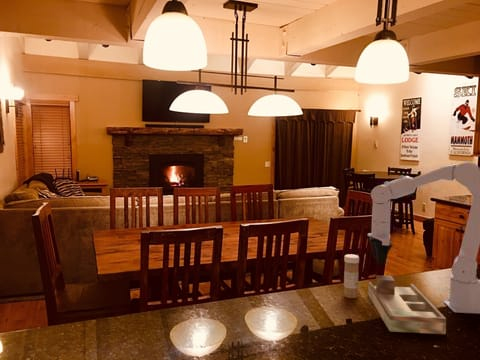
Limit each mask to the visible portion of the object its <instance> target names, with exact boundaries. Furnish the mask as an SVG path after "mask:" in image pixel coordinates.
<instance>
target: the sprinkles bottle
mask: <svg viewBox="0 0 480 360" xmlns="http://www.w3.org/2000/svg"><path fill="white" fill-rule="evenodd" d="M343 258H344V259H343V260H344V274H343V275H344V276H343V286H344V287H343V296H344V297H345V298H347V299H356V298H358V297H359V292H358V288H359V263H360V257H359V255H357V254H354V253H353V254H352V253H351V254H348V253H347V254H345V255H344V257H343Z"/></svg>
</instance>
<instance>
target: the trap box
mask: <svg viewBox="0 0 480 360" xmlns="http://www.w3.org/2000/svg"><path fill="white" fill-rule="evenodd" d="M409 286H410V287H406V286H395V295H387V294H379V293H378V291H377V290H376V285H374V284H373V283H372V282H371V281H368V293H367V295H368V297H369V298H370V300H371V302H372V304H373V305H374V307H375V309H376V311H377V312H378V314H379V315H380V317H381V319H382V321H383V322H384V324H385V326H386V328H387V329H388V331H389V332H392V333H393V332H397V333H414V334H415V333H417V334H431V335H432V334H433V335H434V334H435V335H446V332H447V331H446V330H447V318H446V317H445V316H444V315H443V313H441V312H440V310H438V308H437V307H436V306H435V305H434V304H433V303H432V302H431V301H430V300H429V299H428V298H427V296H425V295H424V294H423V293H422V292H421V291H420V289H419V288H418V287H417V286H416V285H415V284H414V283H410V285H409Z"/></svg>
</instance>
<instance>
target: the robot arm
mask: <svg viewBox="0 0 480 360" xmlns="http://www.w3.org/2000/svg"><path fill="white" fill-rule="evenodd" d="M397 177H398V178H397V179H394V180H391V181H387V180H386V181H385V182H383V184H380V185H379V184H378V185H377V186H374V187H373V189H371V192H370V197H371V200H372V207H371V209H372V210H371V231H370V232H371V233H370V232H369V233H367V237H369V238H368V240H369V242H370V244H371V248H372V252H373V259H374V260H375V261H377V264H379V265H385V264H386V261H387V259H388V258H387V257H388V255H389V252H390V250H391V249H392V247H393V244H392V243H390V238H391V213H392V212H391V200H392V199H393V200H395V199H398V198H401V197H405V196H408V195H410V194H414V193H415V191H416V189H417V188H418V187H423V186H424V185H427V184H430V183H434V182H438V181H441V180H445V181H450V182H452V181H454V180H455V181H456V182H458V183H459V184H461V185H462V186H463V187H465V188H466V189H467V190H468V191H469V192H470V194H471V195H472V196H473V197H472V201H471V205H470V209H469V215H468V218H467V221H466V225H465V230H464V233H463V238H462V242H461V246H460V249H459V254H458V255H457V256H456V257H455V258H454V259H453V264H452V266H451V271H450V272H451V275H450V279H449V282H450V283H449V298H448V300H443V303H444V304H445V305H446V306H448V308H449V309H451V311H453V312H454V313H462V314H463V313H464V314H479V315H480V279H479V278H478V277H477V269H478V262H477V256H478V252H479V248H480V167H479V166H478V165H477V164H476V163H474V162H472V161H464V162H461V163H455V164H450V165H445V166H441V167H439V168H437V169H434V170H431V171H429V172H426V173H423V174H421V175H418V176H415V177H412V176H409V175H406V176H404V175H399V176H397Z"/></svg>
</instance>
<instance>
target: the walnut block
mask: <svg viewBox="0 0 480 360" xmlns="http://www.w3.org/2000/svg"><path fill="white" fill-rule="evenodd" d="M375 276H376V279H375V280H376V283H375V286H376V290H377V291H378V293H379V294H387V295H395V287H396V280H395V278H394V277H393V276H392V275H380V274H378V275H375Z"/></svg>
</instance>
